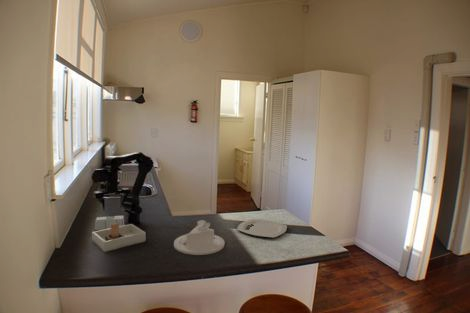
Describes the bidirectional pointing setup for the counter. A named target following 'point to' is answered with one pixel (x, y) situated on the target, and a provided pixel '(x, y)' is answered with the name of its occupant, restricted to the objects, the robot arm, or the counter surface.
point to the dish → (199, 241)
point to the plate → (263, 228)
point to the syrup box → (108, 222)
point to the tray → (131, 237)
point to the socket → (108, 237)
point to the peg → (114, 230)
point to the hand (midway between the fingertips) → (112, 208)
